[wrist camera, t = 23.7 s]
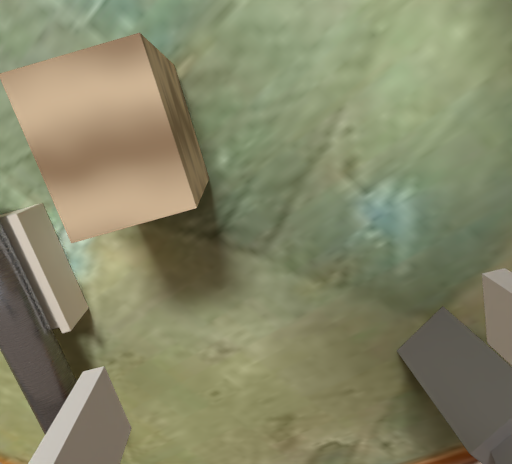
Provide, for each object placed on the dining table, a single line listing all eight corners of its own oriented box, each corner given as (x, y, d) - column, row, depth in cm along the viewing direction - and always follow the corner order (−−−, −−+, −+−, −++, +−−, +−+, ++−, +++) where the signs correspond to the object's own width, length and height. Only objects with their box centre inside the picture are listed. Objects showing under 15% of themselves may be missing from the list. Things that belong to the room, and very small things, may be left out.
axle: (-45, 191, 32) (-93, 203, 29) (-6, 180, 31) (-51, 191, 28) (69, 419, 39) (42, 454, 35) (103, 416, 38) (80, 450, 34)
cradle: (-27, 222, 36) (-62, 236, 31) (42, 202, 35) (16, 213, 31) (25, 325, 39) (-1, 350, 34) (88, 308, 39) (70, 331, 34)
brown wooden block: (83, 91, 33) (-2, 74, 21) (174, 64, 33) (139, 32, 21) (125, 202, 36) (71, 243, 24) (209, 178, 36) (196, 207, 24)
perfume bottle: (442, 306, 41) (596, 442, 23) (483, 341, 42) (657, 495, 25) (396, 350, 42) (511, 512, 25) (438, 384, 43) (573, 558, 26)
